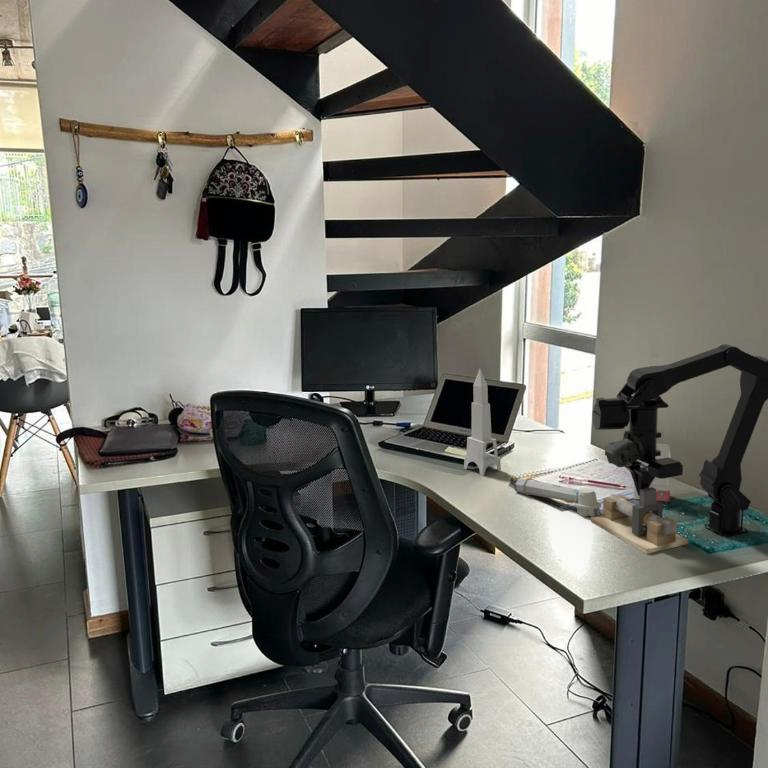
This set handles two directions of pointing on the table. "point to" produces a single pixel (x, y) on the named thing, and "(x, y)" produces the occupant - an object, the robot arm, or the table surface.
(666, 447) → the ink cartridge box
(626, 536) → the pipe stand
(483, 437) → the sculpture
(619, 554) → the table surface
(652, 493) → the collar
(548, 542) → the table surface
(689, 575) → the table surface
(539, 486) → the grey piece
